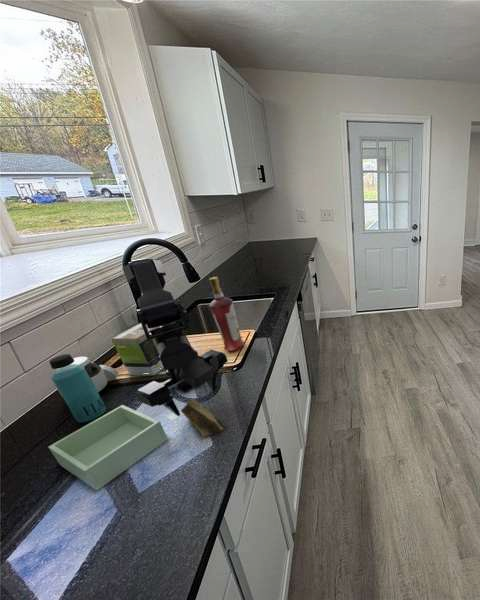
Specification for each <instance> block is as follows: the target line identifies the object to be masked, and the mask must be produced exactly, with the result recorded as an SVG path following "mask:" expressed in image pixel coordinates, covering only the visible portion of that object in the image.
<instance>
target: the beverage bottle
mask: <svg viewBox="0 0 480 600" xmlns="http://www.w3.org/2000/svg"><path fill="white" fill-rule="evenodd" d="M48 362H49V364H50V367H51V369H52V370H55V371H54V373H53V374H52V375H51V378H50V379H51V381H52V382H53V383H54V386H55V387H56V389H57V388H58V389H57V391H58V390H59V391H58V392H59V394H60V393H61V394H60V396H61V395H62V396H61V397H62V398H63V400H64V402H65V405H66V406H67V407H68V409H69V411H70V412H71V414H72V416H73V418H74V419H75V421H76V422H78V423H87V422H91V421H94V420H96V419H98V418H100V417H101V416H103V415H104V413H105V412H106V409H107V406H106V404H105V401H104V400H103V398H102V397H101V395H100V394H99V393H98V392H97V391H98V390H96V388H95V386H94V385H93V383H92V379H91V378H90V377H89V375H88V374H87V372H86V370H85V368H84V366H82V365H78V364H72V363H73V362H74V359H73V356H72V355H71V354H70V353H64V354H61V355H58V356H57V355H56V356H55V357H53V358H51V359H50V360H49V361H48ZM70 364H72V365H70ZM59 368H60V369H59ZM57 369H58V370H57Z"/></svg>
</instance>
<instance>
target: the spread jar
mask: <svg viewBox="0 0 480 600" xmlns="http://www.w3.org/2000/svg"><path fill="white" fill-rule="evenodd" d="M72 358H73V357H72ZM73 359H74V362H73V363H72V364H78V365H82V366H84V368H85V370H86V372H87V374H88V375H89V377H90V378H91V379H92V383H93V385H94V386H95V388H96V390H98V391H97V392H98V393H99V395H101V394H102V393H103V392H104V391H105V389H106V388H107V386H108V382H113V381H115V380H117V378H118V376H119V372H118V370H116V368H114V367H111V366H109V365H105V364H98V363H95V362H92V361H90V360H89V358H88V357H87V356H77V357H74V358H73ZM72 364H70V365H72ZM59 369H60V368H59ZM56 370H58V369H56ZM56 389H57V391H58V392H59V390H58V388H57V387H56ZM59 394H60V396H61V397H62V395H61V393H60V392H59Z"/></svg>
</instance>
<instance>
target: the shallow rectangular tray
mask: <svg viewBox="0 0 480 600" xmlns="http://www.w3.org/2000/svg"><path fill="white" fill-rule="evenodd" d="M168 440H169V438H168V436H167V434H166V432H165V430H164V428H163V425H162V423H161V422H160V421H159V420H157V419H155V418H153V417H151V416H148V415H147V414H144V413H142V412H139V411H137V410H135V409H133V408H130V407H129V406H126V405H124V404H121V405H119V406H118V407H116V408H114V409H113V410H110V411H109V412H107V413H105V414H103V415H101V416H99V417H97V418H95V419H94V420H92V421H90V422H89V423H87V424H86V425H84V426H82V427H81V428H79V429H77V430H75V431H73V432H72V433H69V434H68V435H66V436H65V437H63V438H61V439H60V440H59V439H58V441H55V442H54V443H52V444H51V445H48V447H47V448H48V449H49V451H50V452H51V454H52V455H53V457H54V458H55V460H56V461H57V463H58V464H59V465H60V467H62V468H64V469H65V470H66V471H68V472H69V473H71V474H72V475H74V476H75V477H77V478H78V479H80V480H81V481H82V482H83V483H85V484H86V485H88V486H89V487H91V488H92V489H94V490H95V491H99V490H100V489H101V488H103V487H104V486H106V485H107V484H108V483H110V482H111V481H112V480H114V479H115V478H116V477H118V476H119V475H121V474H122V473H124V472H125V471H126V470H128V469H129V468H131V466H133V465H134V464H136V463H138V461H140V460H142V459H143V458H144V457H146V456H147V455H148V454H150V453H152V451H154V450H155V449H157V448H158V447H159V446H161V445H162V444H164V443H165V442H166V441H168Z"/></svg>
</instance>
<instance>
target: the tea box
mask: <svg viewBox="0 0 480 600" xmlns="http://www.w3.org/2000/svg"><path fill="white" fill-rule="evenodd" d="M146 327H147V330H148V332H149V333H151V332H150V330H154V329H157V327H155V328H151V329H149V328H148V326H147V325H146ZM110 340H111V342H112V344H113V346H114V348H115V350H116V351H117V353H118V356H119V358H120V360H121V362H122V363H123V366H124V367H125V369H126V371H127V373H128V374H129V375H130V376H147V377H148V376H149V377H150V376H151V377H152V376H156V375H157V374H158V373H159V372H161V371H162V370H164V367H163V365H162V362H161V360H160V358H159V352H158V347H157V344H156V342H155V340H154V339H151V340H147V338H146V335H145V332H144V330H143V327H142V324H141V322H139V323H138V324H136V325H133V326H132V327H130V328H128V329H126V330H125V331H123V332H121V333H119V334H117V335H115V336H114V337H111V338H110ZM160 368H161V369H160ZM157 370H158V371H157ZM143 373H149V374H143Z"/></svg>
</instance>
